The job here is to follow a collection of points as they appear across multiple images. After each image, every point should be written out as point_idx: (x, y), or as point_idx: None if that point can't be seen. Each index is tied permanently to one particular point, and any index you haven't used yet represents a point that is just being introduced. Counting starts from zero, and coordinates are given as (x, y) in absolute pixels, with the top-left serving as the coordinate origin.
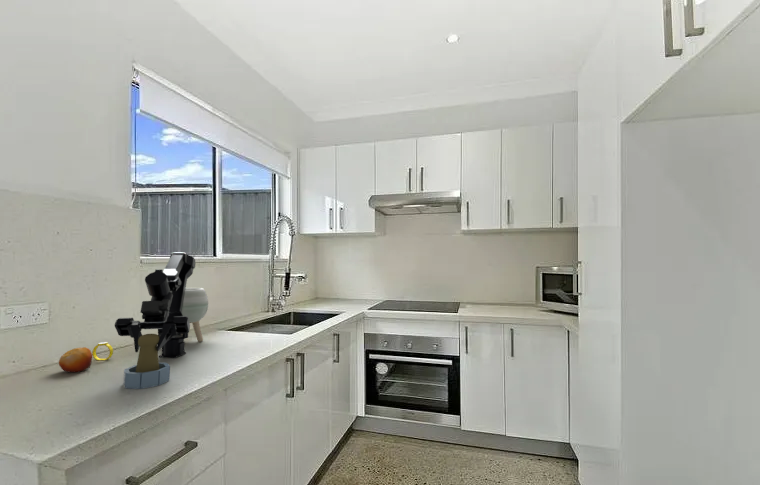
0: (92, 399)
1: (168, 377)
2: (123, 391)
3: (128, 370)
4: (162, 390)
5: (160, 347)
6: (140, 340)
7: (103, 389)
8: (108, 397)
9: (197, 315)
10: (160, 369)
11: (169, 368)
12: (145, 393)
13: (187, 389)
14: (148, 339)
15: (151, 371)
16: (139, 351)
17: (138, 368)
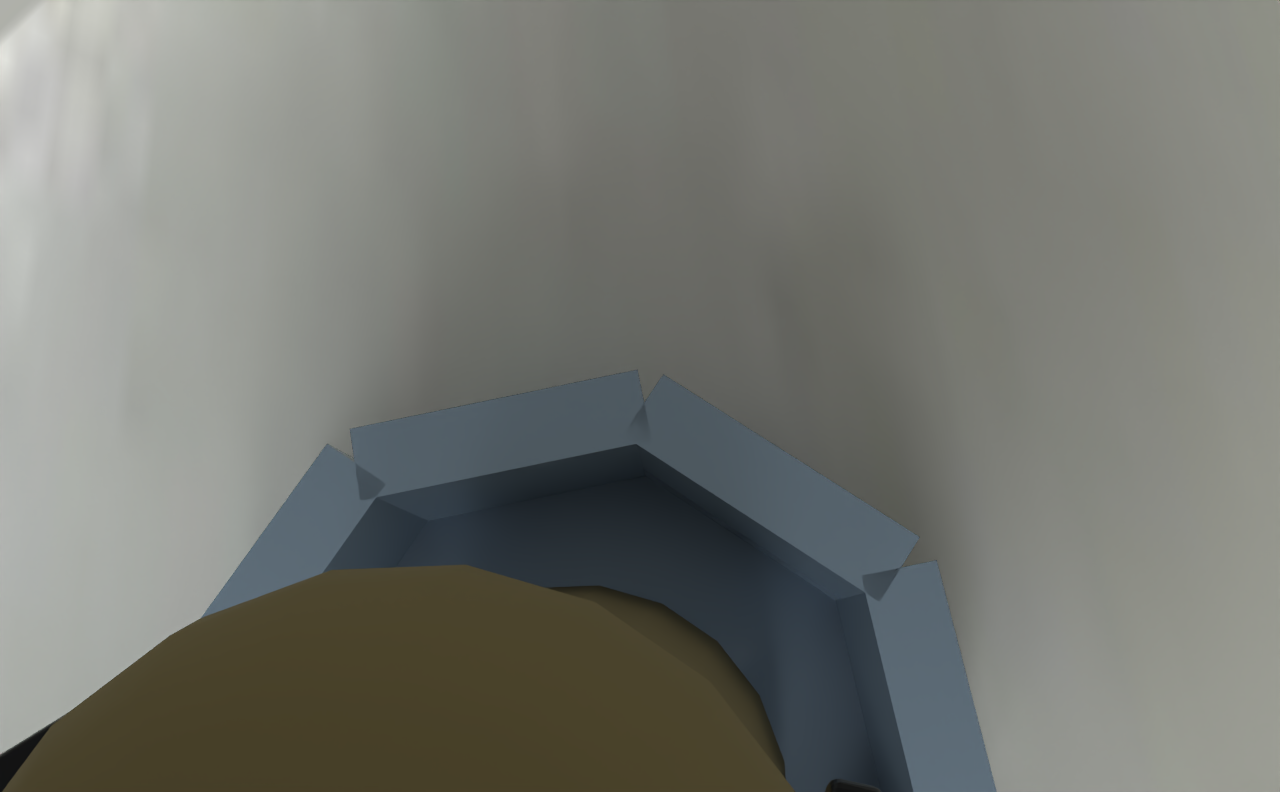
0: (1214, 241)
1: None
2: (875, 417)
3: (915, 756)
4: (365, 219)
5: None
6: (732, 728)
7: (1194, 667)
8: (1024, 234)
9: None
10: (318, 526)
11: None
12: (573, 189)
13: (61, 116)
14: (380, 591)
15: (475, 459)
16: None
17: (723, 674)
